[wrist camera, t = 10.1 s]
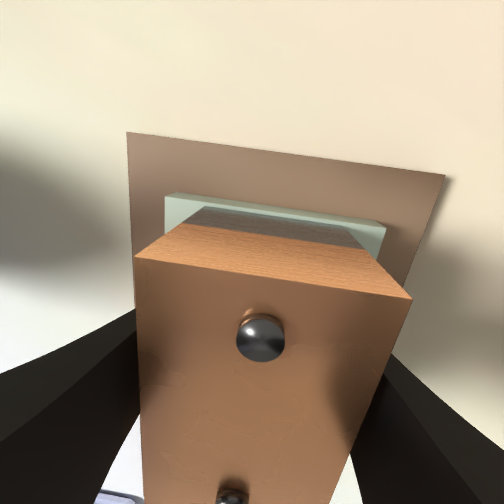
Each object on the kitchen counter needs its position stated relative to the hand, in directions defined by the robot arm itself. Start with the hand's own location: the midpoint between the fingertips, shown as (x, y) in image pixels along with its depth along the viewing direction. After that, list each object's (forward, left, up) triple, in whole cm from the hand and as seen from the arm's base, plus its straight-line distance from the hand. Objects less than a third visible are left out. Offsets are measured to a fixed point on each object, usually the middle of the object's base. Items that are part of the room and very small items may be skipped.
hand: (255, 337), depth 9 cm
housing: (0, 0, -2) cm, 2 cm away
